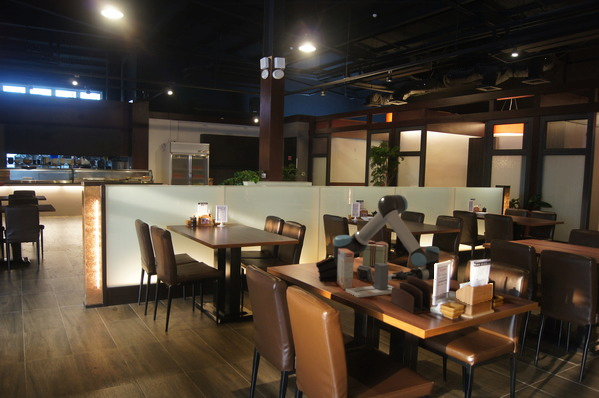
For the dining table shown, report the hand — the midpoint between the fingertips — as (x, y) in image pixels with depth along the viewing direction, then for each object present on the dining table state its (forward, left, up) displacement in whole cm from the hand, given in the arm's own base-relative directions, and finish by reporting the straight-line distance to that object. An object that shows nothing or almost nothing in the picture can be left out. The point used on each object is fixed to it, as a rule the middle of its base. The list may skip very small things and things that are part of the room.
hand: (385, 277), depth 240 cm
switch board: (-2, -7, -7) cm, 11 cm away
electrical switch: (-23, +7, -8) cm, 25 cm away
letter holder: (+26, -11, -8) cm, 30 cm away
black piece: (-34, -14, -8) cm, 37 cm away
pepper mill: (+31, +41, -8) cm, 52 cm away
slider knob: (-1, -3, -5) cm, 6 cm away
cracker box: (-19, -13, -8) cm, 24 cm away
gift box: (-54, +46, -8) cm, 71 cm away
